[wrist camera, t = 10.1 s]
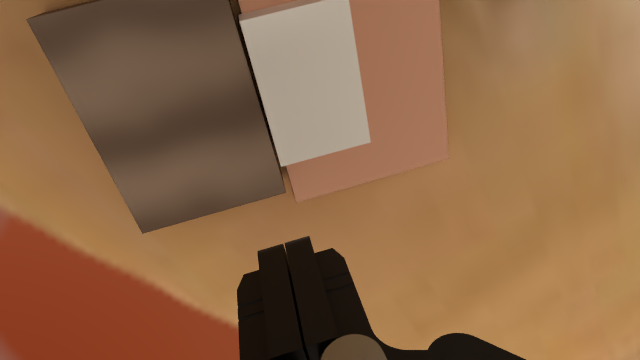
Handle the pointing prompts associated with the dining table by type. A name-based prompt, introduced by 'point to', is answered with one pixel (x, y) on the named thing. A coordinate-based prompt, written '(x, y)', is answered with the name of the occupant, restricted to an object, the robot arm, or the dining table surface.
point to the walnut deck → (165, 103)
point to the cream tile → (308, 77)
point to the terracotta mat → (385, 96)
